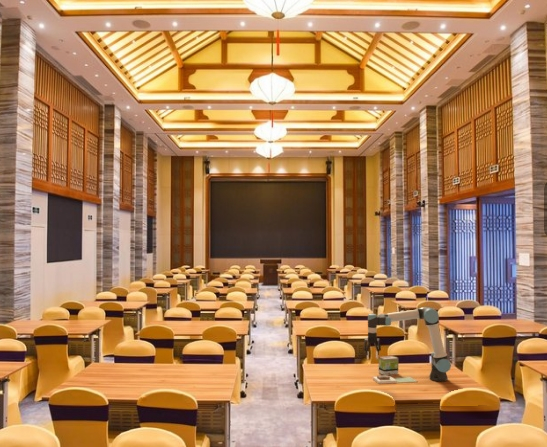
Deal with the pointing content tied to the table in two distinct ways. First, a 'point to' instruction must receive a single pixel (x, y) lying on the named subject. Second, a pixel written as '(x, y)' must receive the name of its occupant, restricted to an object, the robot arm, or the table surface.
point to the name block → (383, 377)
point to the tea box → (388, 365)
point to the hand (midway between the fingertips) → (372, 358)
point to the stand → (385, 380)
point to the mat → (405, 379)
